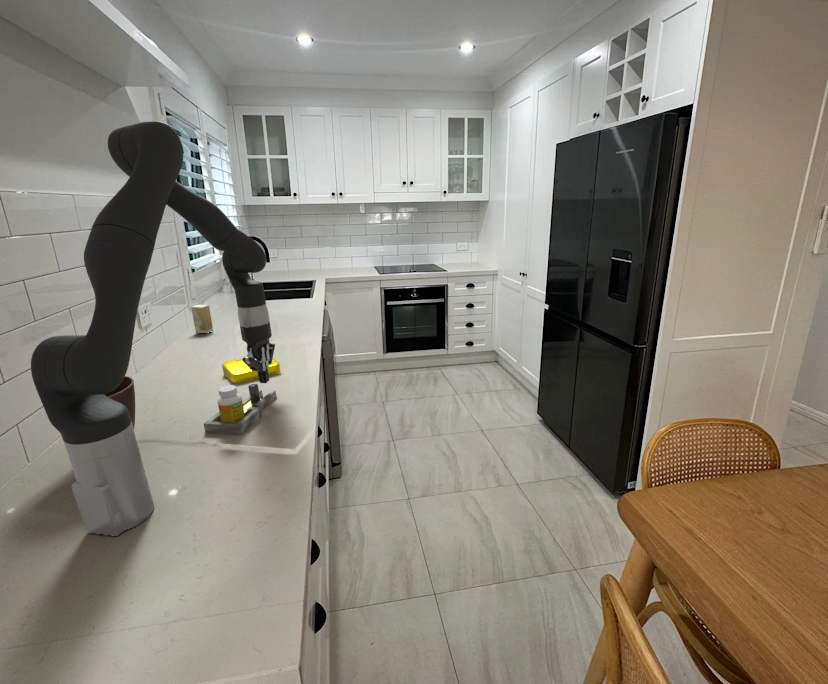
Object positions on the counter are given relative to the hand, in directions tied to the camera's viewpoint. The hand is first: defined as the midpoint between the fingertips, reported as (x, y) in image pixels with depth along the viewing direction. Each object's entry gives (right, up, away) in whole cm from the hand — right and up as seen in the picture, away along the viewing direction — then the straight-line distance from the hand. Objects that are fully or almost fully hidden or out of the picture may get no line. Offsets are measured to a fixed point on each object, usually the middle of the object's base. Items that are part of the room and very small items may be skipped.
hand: (264, 382), depth 117 cm
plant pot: (-26, -14, -22) cm, 37 cm away
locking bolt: (-1, -7, -6) cm, 9 cm away
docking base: (-2, -8, -7) cm, 11 cm away
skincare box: (-52, +15, +72) cm, 90 cm away
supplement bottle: (-3, -9, -13) cm, 16 cm away
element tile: (-11, 0, +21) cm, 24 cm away
